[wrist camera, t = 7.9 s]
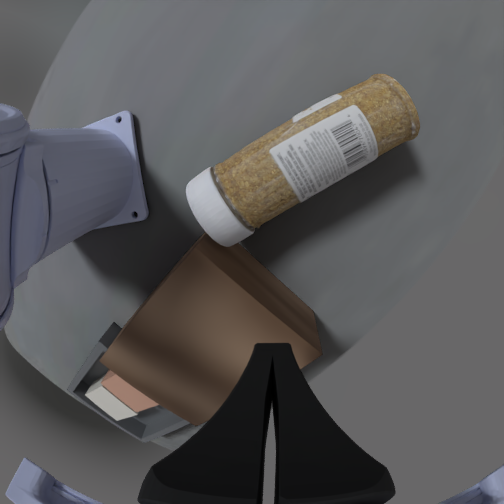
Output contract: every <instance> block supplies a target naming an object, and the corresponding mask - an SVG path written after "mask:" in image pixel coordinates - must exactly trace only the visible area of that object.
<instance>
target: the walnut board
mask: <svg viewBox="0 0 504 504" xmlns="http://www.w3.org/2000/svg"><path fill="white" fill-rule="evenodd" d="M257 343H289V344H291V347H292V351H293V354H294V356H295V359H296V361H297V364H298V366H299V368H300V369H302V368H303V367H305V366H306V365H308V364H309V363H311V362H312V361H314V360H315V359H317V358H318V357H320V356H321V355H323V354H322V349H321V344H320V339H319V335H318V330H317V326H316V321H315V317H314V312H313V310H312V309H310V308H309V307H308V306H307V305H306V304H305V303H304V302H303V301H302V300H300V299H299V298H298V297H297V296H296V295H295V294H294V293H293V292H292V291H291V290H289V289H288V288H287V287H286V286H285V285H284V284H283V283H282V282H281V281H279V280H278V279H277V278H276V277H275V276H274V275H273V274H272V273H271V272H270V271H268V270H267V269H266V268H265V267H264V266H263V265H262V264H261V263H260V262H258V261H257V260H256V259H255V258H254V257H253V256H252V255H251V254H250V253H249V252H247V251H246V250H245V249H244V248H243V247H242V246H241V245H240V244H239V243H236V244H234V245H232V246H230V247H226V246H222V245H220V244H219V243H217V242H216V241H214V240H213V239H212V238H211V237H210V236H209V235H208V234H207V233H206V232H204V234H203V235H202V236H201V237H200V238H199V239H198V240H197V241H196V242H195V243H194V245H193V246H192V247H191V248H190V249H189V250H188V251H187V252H186V254H185V255H184V256H183V257H182V258H181V259H180V260H179V261H178V263H177V264H176V265H175V266H174V267H173V268H172V269H171V271H170V272H169V273H168V274H167V275H166V276H165V278H164V279H163V280H162V281H161V282H160V283H159V285H158V286H157V287H156V288H155V289H154V290H153V292H152V293H151V294H150V295H149V296H148V298H147V299H146V300H145V301H144V302H143V304H142V305H141V306H140V307H139V308H138V310H137V311H136V312H135V313H134V314H133V316H132V317H131V318H130V319H129V321H128V322H127V323H126V324H125V326H124V327H123V328H122V330H121V331H120V332H119V334H118V335H117V337H116V338H115V339H114V341H113V342H112V344H111V345H110V346H109V348H108V349H107V351H106V352H105V354H104V355H103V356H102V358H101V359H100V362H101V363H102V364H103V365H105V366H106V367H107V368H108V369H110V370H111V371H112V372H114V373H115V374H116V375H118V376H119V377H120V378H121V379H123V380H124V381H126V382H127V383H128V384H130V385H131V386H132V387H134V388H135V389H137V390H138V391H140V392H141V393H143V394H144V395H145V396H147V397H148V398H150V399H151V400H153V401H155V402H156V403H158V404H159V405H161V406H162V407H164V408H166V409H167V410H169V411H171V412H172V413H174V414H176V415H177V416H179V417H181V418H182V419H184V420H186V421H188V422H190V423H191V424H193V425H195V426H197V425H200V424H202V423H204V422H206V421H208V420H210V418H211V417H212V416H213V415H214V414H215V413H216V412H217V410H218V409H219V408H220V407H221V405H222V404H223V403H224V402H225V400H226V399H227V397H228V396H229V395H230V393H231V392H232V390H233V388H234V387H235V385H236V384H237V382H238V381H239V379H240V377H241V375H242V373H243V372H244V370H245V368H246V366H247V364H248V362H249V359H250V357H251V355H252V352H253V349H254V345H255V344H257Z"/></svg>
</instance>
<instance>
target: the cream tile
mask: <svg viewBox="0 0 504 504" xmlns="http://www.w3.org/2000/svg"><path fill="white" fill-rule="evenodd" d="M105 375H106V374H105ZM105 375H103V376H102V377H100V378H98V379H96V380H95V381H93V383H92V384H91V386H90V388H89V389H88V391H87V392H86V394H85V396H87V397H88V398H89V399H90V400H91V401H92V402H94V403H95V404H96V405H97V406H98V407H100V408H101V409H102V410H103V411H105V412H106V413H107V414H109V415H110V416H111V417H113V418H114V419H115V420H117V421H118V420H121V419H125V418H128V417H132V416H135V415H138V413H139V412H136V411H134V410H133V409H132V408H130V407H129V406H128V405H126V404H125V403H124V402H123V401H121V400H120V399H119V398H118V397H116V396H115V395H114V394H113V393H112V392H110V391H109V390H108V389H107V388H106V387H104V386H103V385H102V384H101V382H102V380H103V378H104V377H105Z"/></svg>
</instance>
